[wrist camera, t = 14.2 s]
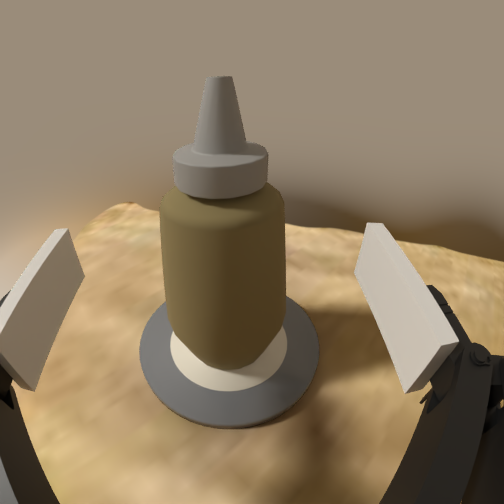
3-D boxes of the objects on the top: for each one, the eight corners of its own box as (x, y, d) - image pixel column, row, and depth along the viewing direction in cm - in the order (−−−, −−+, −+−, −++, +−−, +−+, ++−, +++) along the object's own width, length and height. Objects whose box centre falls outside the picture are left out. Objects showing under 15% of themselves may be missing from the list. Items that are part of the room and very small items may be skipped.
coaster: (347, 392, 20) (352, 385, 19) (156, 447, 16) (152, 442, 15) (277, 276, 30) (278, 267, 30) (137, 304, 26) (134, 295, 26)
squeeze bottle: (158, 331, 23) (109, 87, 12) (237, 289, 27) (236, 73, 16) (216, 405, 18) (180, 87, 7) (302, 344, 22) (346, 84, 11)
